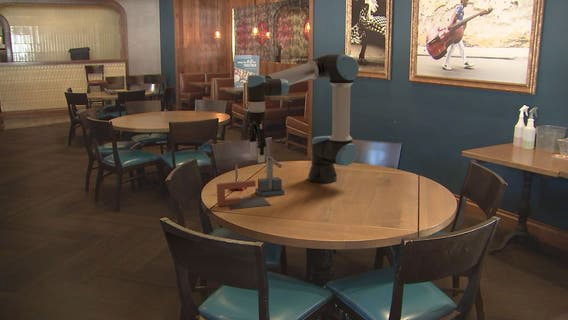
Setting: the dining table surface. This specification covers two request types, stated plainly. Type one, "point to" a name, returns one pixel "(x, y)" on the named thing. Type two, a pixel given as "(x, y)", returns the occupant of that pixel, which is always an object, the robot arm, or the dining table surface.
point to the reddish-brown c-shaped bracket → (231, 185)
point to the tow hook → (237, 180)
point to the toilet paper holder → (270, 181)
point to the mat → (250, 203)
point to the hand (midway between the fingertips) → (257, 159)
